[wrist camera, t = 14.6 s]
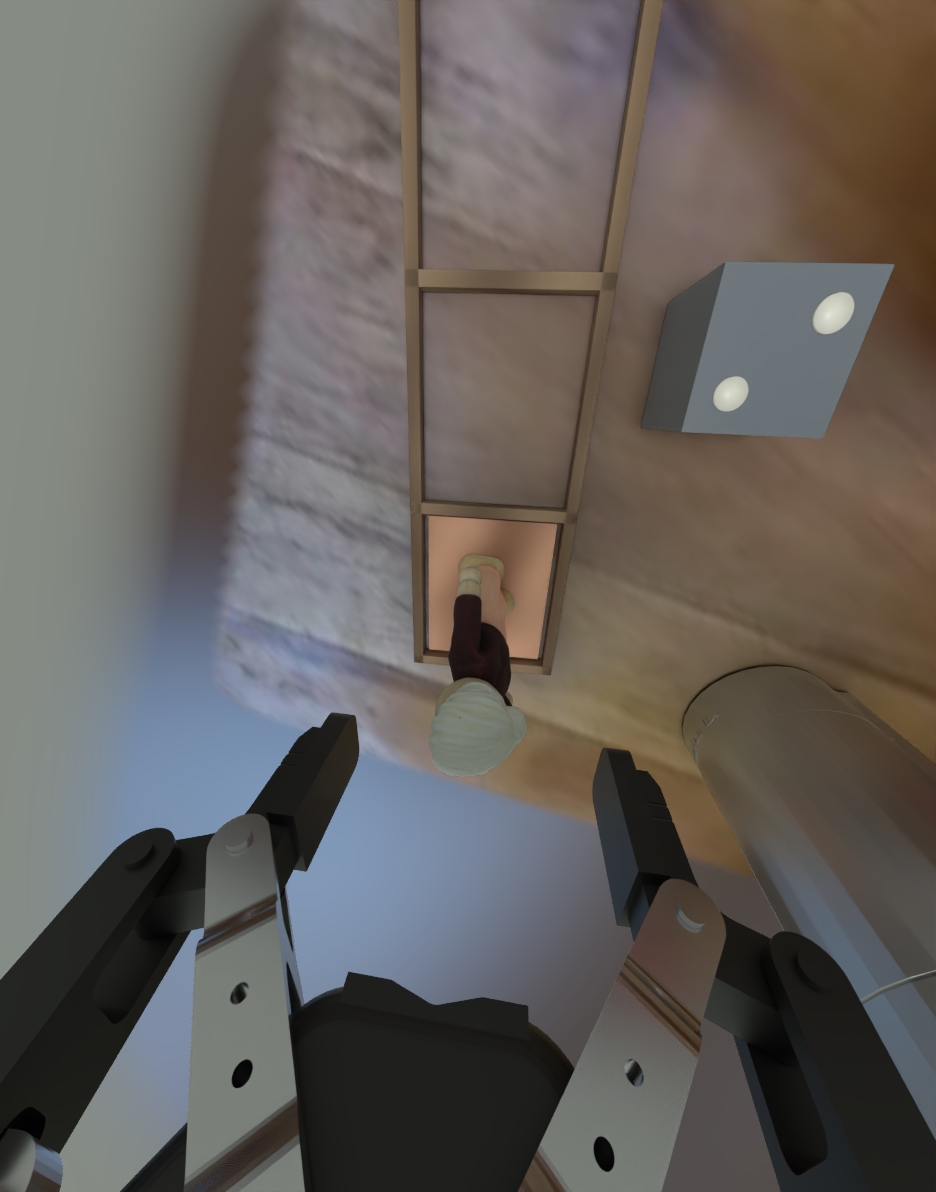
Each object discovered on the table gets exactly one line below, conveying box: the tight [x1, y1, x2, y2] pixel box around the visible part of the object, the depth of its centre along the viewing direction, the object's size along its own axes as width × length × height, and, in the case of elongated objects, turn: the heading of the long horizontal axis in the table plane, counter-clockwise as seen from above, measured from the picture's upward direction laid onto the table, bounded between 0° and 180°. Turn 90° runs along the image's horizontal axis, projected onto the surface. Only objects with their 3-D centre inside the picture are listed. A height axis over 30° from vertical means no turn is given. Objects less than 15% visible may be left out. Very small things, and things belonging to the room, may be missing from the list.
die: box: [641, 262, 895, 439], centre depth 15 cm, size 5×5×5 cm
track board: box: [398, 0, 663, 675], centre depth 19 cm, size 9×31×1 cm, turn 178°
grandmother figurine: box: [430, 554, 527, 777], centre depth 18 cm, size 8×4×13 cm, turn 26°
